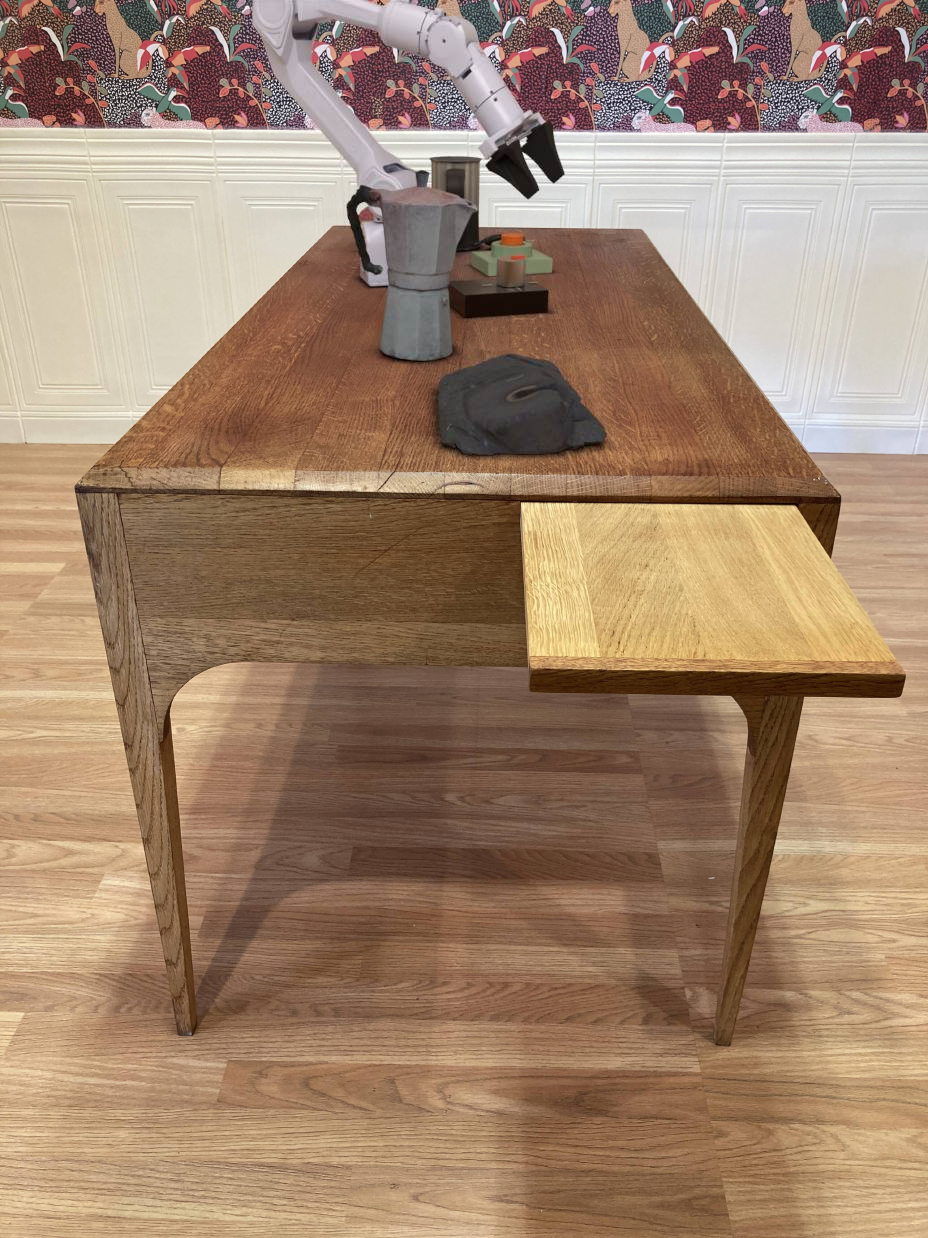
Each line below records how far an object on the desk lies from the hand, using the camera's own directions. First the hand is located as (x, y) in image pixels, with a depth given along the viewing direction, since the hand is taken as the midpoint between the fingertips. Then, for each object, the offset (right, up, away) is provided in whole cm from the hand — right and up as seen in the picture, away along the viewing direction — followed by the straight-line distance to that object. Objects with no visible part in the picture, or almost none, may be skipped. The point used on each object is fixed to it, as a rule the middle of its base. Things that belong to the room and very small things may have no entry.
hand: (546, 186), depth 136 cm
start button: (-4, 0, +21) cm, 21 cm away
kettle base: (-4, -4, +22) cm, 23 cm away
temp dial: (-5, -15, -2) cm, 16 cm away
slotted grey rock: (-7, -41, -40) cm, 58 cm away
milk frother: (-9, +6, +38) cm, 40 cm away
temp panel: (-7, -17, -1) cm, 19 cm away
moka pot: (-18, -29, -21) cm, 40 cm away
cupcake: (-27, +7, +40) cm, 48 cm away
